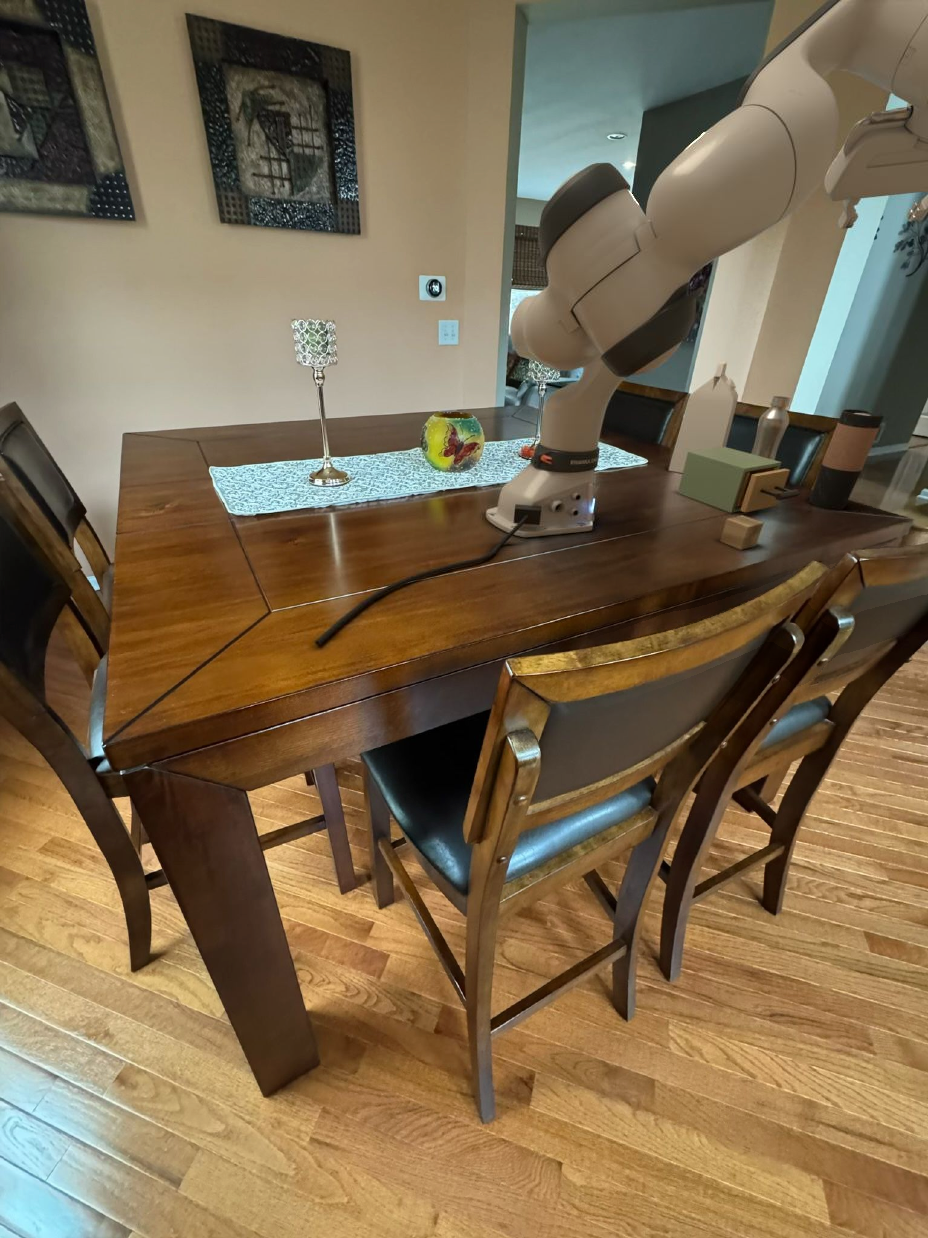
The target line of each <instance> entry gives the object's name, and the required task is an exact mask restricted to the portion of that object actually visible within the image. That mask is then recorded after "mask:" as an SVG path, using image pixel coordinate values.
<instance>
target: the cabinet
mask: <svg viewBox="0 0 928 1238" xmlns="http://www.w3.org/2000/svg"><path fill="white" fill-rule="evenodd" d="M781 465H782V461H778V460H776V459H775V460H771V459H768V458H764V457H760V456H757V455H753V454H751V453H749V452H746V451H741V450H737V449H734V448H730V447H727V446H726V447H719V448H711V449H704V450H697V451H690V452H688V454H687V458H686V462H685V466H684V470H683V473H681V478H680V483H679V486H678V490H677V494H679V495H681V496H684V497H687V498H690V499H693V500H695V501H698V502H701V503H702V504H703V503H704V504H705V505H708V506H711V507H714V508H717V509H719V510H723V511H725V512H727V513H730V514H733V513H736V512H741V511H740V510H741V507H742V506H740V507H736V506H735V505H736V502H737V499H738V496H739V492H740V489H741V486H742V483H743V480H744V476H745V473H746V472H748V471H754V470H759V469H765V468H771V467H774V468H777V470H780V468H781Z"/></svg>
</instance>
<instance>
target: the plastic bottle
mask: <svg viewBox="0 0 928 1238" xmlns="http://www.w3.org/2000/svg"><path fill="white" fill-rule="evenodd" d="M790 401H791V398H790V397H787V396H779V395H775V396H773V397H772V399H771V402H770V403H769V404H770V405H769V406H770V407H769V408H768V409H767V410H766V411H764V412H763V413H762V414H761V416H760V417H759V420H758V424H757V429H756V434H755V435H756V436H755V439H754V445H753V448H752V450H751V452H750V454H753V455H757V456H760V457H764V458H768V459H771V460H775V461H776V458H777V457H776V456H777V454H778V453H777V452H778V449H779V446H780V444H781V441H782V440H783V439H782V438H783V436H784V434H785V432H786V430H787V427H788V426H789V424H790V416H789V412H788V411H787V408H788V407H789V405H790Z"/></svg>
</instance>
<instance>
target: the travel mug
mask: <svg viewBox="0 0 928 1238" xmlns="http://www.w3.org/2000/svg"><path fill="white" fill-rule="evenodd" d="M884 417H885V414H883V413H879V414H872V413H870V412H869V411H868V410H866V409H865V410H864V409H856V408H855V409H853V408H850V409H849V408H847V409H843V410H842V411H841V414H840V416H839V419H838V421H837V424H836V426H835V428H834V429H835V430H834V431H833V434H832V437H831V439H830V442H829V444H828V447H827V449H826V452H825V454H824V457H823V460H822V461H821V465H820V468H819V471H818V473H817V475H816V480H815V482H814V485H813V488H812V491H811V494H810V497H809V501H808V502H809V503H810V504H811V505H813V506H815V507H818V508H822V509H826V510H834V511H835V510H837V511H838V510H839V511H840V510H844V508H845V507H846V505H847V503H848V501H849V499H850V496H851V494H852V493H853V490H854V488H855V486H856V483H857V481H858V479H859V477H860V475H861V474H862V471H863V468H864V466H865V463H866V460H867V459H868V456H869V453H870V452H871V449H872V446H873V444H874V442H875V439H876V436H877V434H878V432H879V429H880V427H881V425H882V422H883V419H884Z"/></svg>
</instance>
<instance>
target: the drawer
mask: <svg viewBox="0 0 928 1238" xmlns="http://www.w3.org/2000/svg"><path fill="white" fill-rule="evenodd" d="M790 472H791V470H790V469H788V468H781V469H780V468H779V470H777V468H774V467H771V468H765V469H759V470H754V471H748V472H746V473H745V476H744V480H743V483H742V486H741V489H740V492H739V496H738V499H737V502H736V505H735V506H736V507H740V506H742V507H741V510H740V511H739V512H743V513H750V512H754V511H757V510H763V509H766V508H771V507H776V506H778V505H779V503H780V501H781V500H785V499H791V498H795V497H798V496H799V494H800V491H799V490H798V489H792V490H791V489H788V488H785V486H786V483H787V480H788V478H789V474H790Z"/></svg>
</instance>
